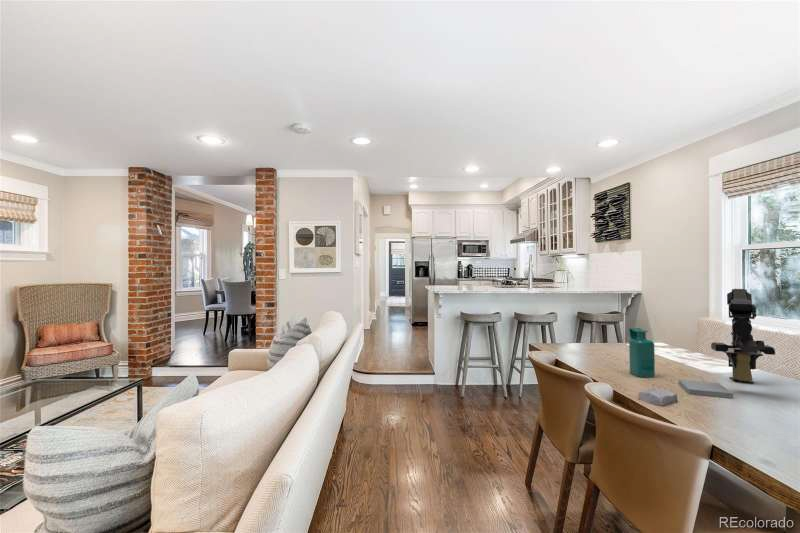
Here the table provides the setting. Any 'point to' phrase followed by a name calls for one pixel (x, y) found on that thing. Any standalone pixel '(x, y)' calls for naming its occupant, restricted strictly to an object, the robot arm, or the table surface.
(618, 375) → the table surface
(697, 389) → the plinth
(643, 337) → the teal bottle
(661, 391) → the stone block
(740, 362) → the cork
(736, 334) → the robot arm
